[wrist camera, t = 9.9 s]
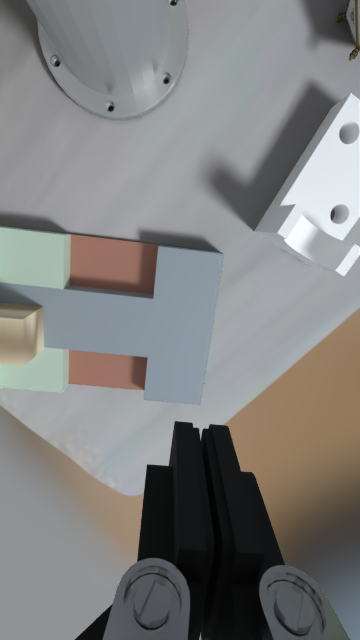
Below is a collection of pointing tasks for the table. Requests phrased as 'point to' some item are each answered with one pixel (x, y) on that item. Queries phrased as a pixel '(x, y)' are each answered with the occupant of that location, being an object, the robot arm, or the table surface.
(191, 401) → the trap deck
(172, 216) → the table surface
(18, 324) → the maple block
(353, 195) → the bracket
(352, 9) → the game die
